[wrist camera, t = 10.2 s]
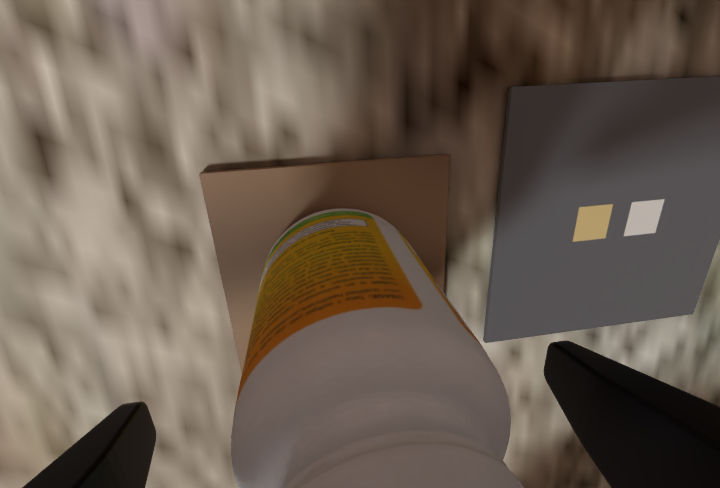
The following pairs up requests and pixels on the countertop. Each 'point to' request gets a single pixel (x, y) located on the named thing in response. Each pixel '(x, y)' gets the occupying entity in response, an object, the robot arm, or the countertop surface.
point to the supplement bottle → (363, 370)
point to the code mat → (604, 205)
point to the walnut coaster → (311, 195)
